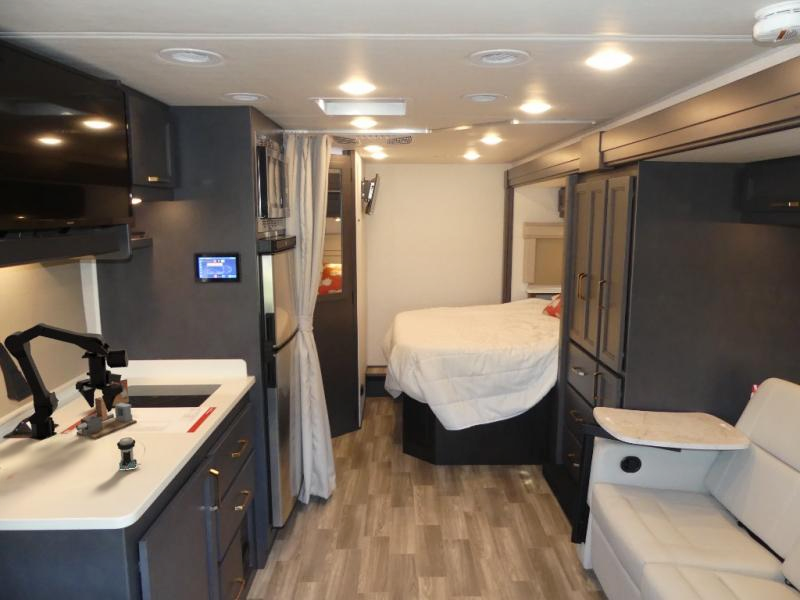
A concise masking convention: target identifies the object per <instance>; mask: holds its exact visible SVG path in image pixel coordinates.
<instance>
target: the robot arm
mask: <svg viewBox="0 0 800 600" xmlns="http://www.w3.org/2000/svg"><path fill="white" fill-rule="evenodd" d="M38 337H42V338H48V339H50V340H51V339H52V340H55V341H56V340H57V341H60V342H64V343H67V344H72V345H75V346H77V347H79V348H80V349H82V350H84V351H85V353H84V354H83V355H82V356H81V359H87V362H88V363H87V364H88V371H87V372H86V376H89V378H84V379H81V380H78V381H77V382H76V383H75V390H76V391H78V392H79V394H80V395H81V396H82V398H84V400H85V401H86V403H87V404H88V406H89V407H90V408H91V409H92V408H94V407H95V392H96V390H99V391H101V393H102V395H101V397H102V398H103V401H104V403H105V406H106V410H107V412H108V413H110V412H111V411H112V408H113V407H114V406H113V402H114V399H115V397H116V396H117V395H119V394H120V393H121V392H123V386H121V385H118V384H112V382H117V383H120V380H121V377H123V376H122V374H119V373H118V374H117V373H112V371H111V370H110V369H116V368H117V369H119V368H128V367H129V355H128V352H127V349H126V348H121V349H113V348H112V347H111V345H109V344H108V342H106V341H107V340H106V338H105V337H104V335H103V334H100V333H91V332H85V333H84V332H77V331H73V330H69V329H65V328H62V327H61V328H60V327H57V326H53V325H50V324H46V323H44V322H39V323H36V325H34V326H32V327H30V328H27V329H26V330H24V331H21V330H18V331H15V332H13V333H11V334H10V335H7V337H5V339H4V341H3V344H4V347H5V348H6V349H7V351H8V352H9V354H10V355H11V356H12V357H13V358H14V359H15V360H16V361H17V363H18V366H19V368H20V370H21V371H22V374H23V376H24V379H25V381H26V384H27V385H28V387H29V389H30V392H31V395H32V400H33V401H32V403H33V404H32V405H33V409H34V413H33V414H32V415H31V416H30V417H28V422H29V424H30V427H31V428H30V429H31V431H30V432H31V434H29V438H32V439H35V440H39V441H42V440H44V439H47V438H49V437H52V436H55V435H57V434H58V433H57V432H56V430H55V429H56V428H55V427H56V426H55V420H54V419H53V417H52V416H53V414H54V413H55V411H56V410H57V409H58V406H59V403H58V402H59V401H60V400H59V399H58V398H57V395H56V392H55V391H52V392H50V391H49V390H48V388H46V386H45V385H46V384H45V383H44V381H43V378H42V377H41V374H40V371H39V370H38V367H37V365H36V363H35V360H34V359H33V356H32V353H31V352H32V351H31V349H32V348H31V347H32V346H31V341H32V340H34V339H35V338H38ZM107 366H108V367H109V368H110V369H107ZM107 384H112V385H108V386H107Z"/></svg>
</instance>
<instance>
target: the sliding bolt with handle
mask: <svg viewBox="0 0 800 600" xmlns="http://www.w3.org/2000/svg"><path fill="white" fill-rule="evenodd" d="M94 407H95V415H99V416H102V422H105V421H108V420H110V419H113V418H115V414H114V413H113V412H108V411H107V409H106V406H105V403H104V401H103V398H102V396H98V397H94ZM107 412H108V413H107ZM85 428H88V427H87V422H84V423H81V422H80V423H79V424H76V425H75V429H76V430H77V432H78V431H81V430H83V429H85Z"/></svg>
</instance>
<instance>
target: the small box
mask: <svg viewBox="0 0 800 600" xmlns="http://www.w3.org/2000/svg"><path fill="white" fill-rule="evenodd" d="M112 384H118V385H121V386H123V392H121V393H120V394H119V395H117V396H116V397H115V399H114V402H113V406H112V407H115V405H116V404H119V403H126V404H129V388H128V378H126V377H124V376H121V380H120V383H117V382H112ZM112 384H107V386H108V385H112Z"/></svg>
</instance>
